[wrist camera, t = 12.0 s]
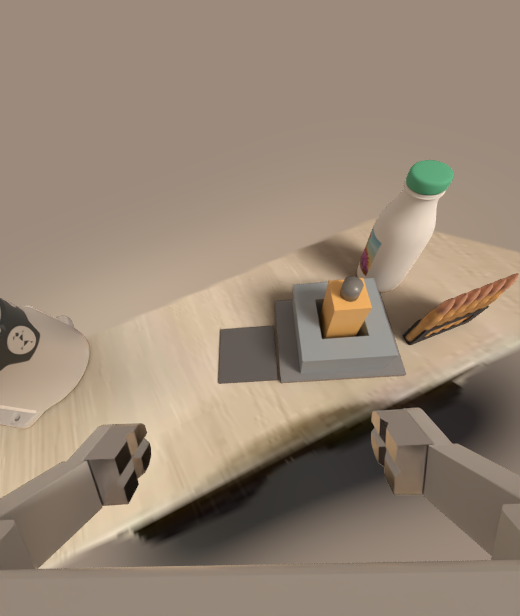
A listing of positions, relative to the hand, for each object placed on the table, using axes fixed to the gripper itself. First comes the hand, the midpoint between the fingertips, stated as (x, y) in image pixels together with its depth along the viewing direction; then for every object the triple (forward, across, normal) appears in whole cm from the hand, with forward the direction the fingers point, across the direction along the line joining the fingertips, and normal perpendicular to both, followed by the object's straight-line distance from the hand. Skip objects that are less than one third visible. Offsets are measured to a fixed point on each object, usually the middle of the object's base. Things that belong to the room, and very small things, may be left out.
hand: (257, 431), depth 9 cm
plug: (+31, -10, +9) cm, 34 cm away
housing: (+32, -10, +10) cm, 34 cm away
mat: (+30, +4, +11) cm, 32 cm away
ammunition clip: (+32, -26, +10) cm, 42 cm away
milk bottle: (+40, -20, +2) cm, 44 cm away
